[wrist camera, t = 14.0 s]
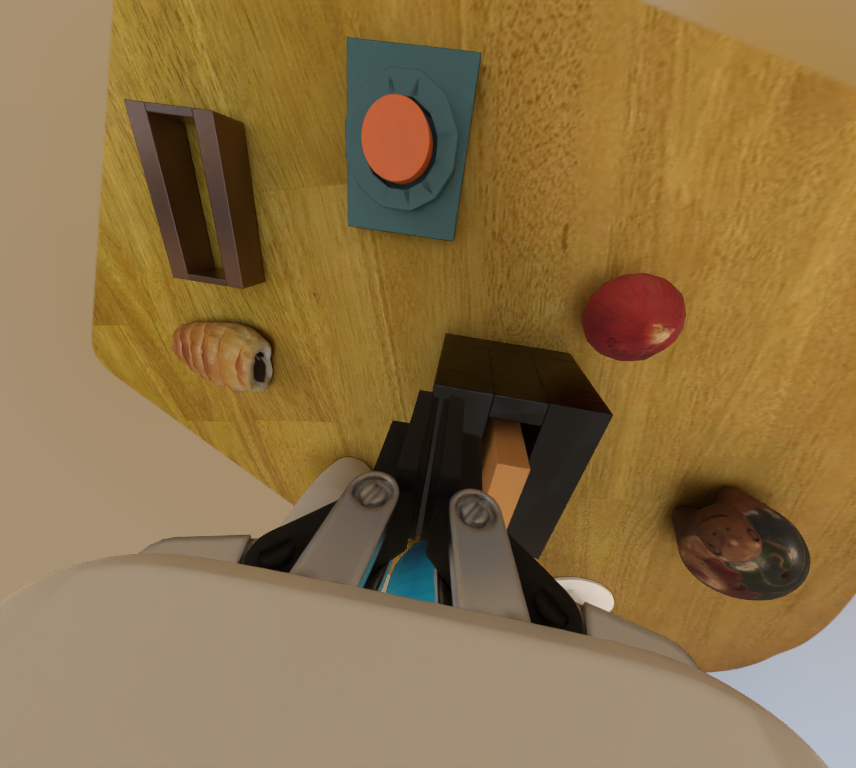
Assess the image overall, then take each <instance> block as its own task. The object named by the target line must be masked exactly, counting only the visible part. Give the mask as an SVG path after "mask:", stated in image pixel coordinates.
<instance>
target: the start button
mask: <svg viewBox="0 0 856 768" xmlns="http://www.w3.org/2000/svg"><path fill="white" fill-rule="evenodd" d="M361 138H362V148H363V152H364V155H365V158H366V160H367V162H368V164H369V165H370V167H371V168H372V169H373V171H374V172H375V173H376V174H378V175H379V176H380V177H382V178H384V179H386V180H388V181H390V182H393V183H396V184H408V183H411V182H414V181H415V180H417V179H418V178H419V177H421V176H422V174H423V173H424V172H425V171H426V169H427V167H428V165H429V163H430V161H431V157H432V152H433V138H432V132H431V129H430V126H429V124H428V122H427V120H426V118H425V116H424V114H423V112H422V110H421V109H420V107H419V106H418V105H417V104H416V103H415V102H414V101H413V100H411V99H410V98H408V97H406V96H404V95H400V94H389V95H386V96H383V97H381V98H379V99H378V100H377V101H375V103H374V104H373V105H372V106H371V107H370V108H369V110H368V112H367V114H366V116H365V118H364V122H363V126H362V134H361Z"/></svg>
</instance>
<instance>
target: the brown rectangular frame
mask: <svg viewBox="0 0 856 768" xmlns="http://www.w3.org/2000/svg"><path fill="white" fill-rule="evenodd" d="M124 102H125V106H126V109H127V113H128V116H129V120H130V123H131V127H132V131H133V134H134V138H135V141H136V145H137V149H138V152H139V156H140V159H141V163H142V167H143V170H144V174H145V177H146V181H147V184H148V188H149V192H150V195H151V199H152V202H153V206H154V210H155V213H156V217H157V220H158V224H159V228H160V231H161V235H162V238H163V242H164V245H165V249H166V253H167V256H168V260H169V263H170V267H171V271H172V274H173V277H174V278H180V279H186V280H192V281H198V282H204V283H211V284H217V285H223V286H230V287H236V288H242V289H244V288H247V287H250V286H253V285H256V284H259V283H262V282H265V278H264V271H263V263H262V256H261V249H260V241H259V234H258V227H257V220H256V212H255V205H254V198H253V190H252V183H251V176H250V168H249V161H248V154H247V146H246V139H245V132H244V125H243V123H242V122H239V121H237V120H235V119H232V118H230V117H227V116H225V115H222V114H220V113H217V112H215V111H212V110H205V109H197V108H190V107H182V106H174V105H166V104H159V103H151V102H143V101H135V100H127V99H124ZM184 124H190V125H195V126H196V131H197V136H198V141H199V146H200V151H201V156H202V161H203V166H204V171H205V176H206V181H207V186H208V191H209V197H210V202H211V207H212V212H213V217H214V222H215V227H216V232H217V237H218V242H219V247H220V252H221V257H222V262H223V267H224V270H221V269H215V268H214V263H213V258H212V254H211V249H210V244H209V239H208V235H207V230H206V225H205V220H204V216H203V211H202V206H201V202H200V197H199V192H198V187H197V183H196V178H195V173H194V168H193V164H192V159H191V154H190V150H189V145H188V140H187V135H186V131H185V126H184Z"/></svg>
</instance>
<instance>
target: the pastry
mask: <svg viewBox="0 0 856 768" xmlns="http://www.w3.org/2000/svg"><path fill="white" fill-rule="evenodd" d="M173 343H174V344H173V346H172V350H173V351H174V353H175V354H176V355H177V357H178V358H179V359H180V360H181V361H182V362H183V363H185V364H186V365H188V366H189V367H190V369H191V370H192V371H194V372H198V373H200V375H201V377H202V378H203V379H205V380H211V381H212V382H213V383H214V384H215V385H216V386H220V387H221V386H228V387H229V388H230V389H231V390H232V391H233V392H244V391H260V392H262V391H265V390H266V389H267V388H268V387H269V382H270V380H271V378H272V372H273V369H272V364H271V361H270V357H271V346H270V345H269V343H268V342H267V341H266V340H265V339H264V338H263V337H262V336H261V335H260V334H259V333H258V332H257V331H255V330H254V329H252V328H251V327H248V326H244V325H241V324H239V323H230V322H192V323H188V324H183V325H181V326H180V327H178V328H177V329H176V330H175V332H174V333H173Z"/></svg>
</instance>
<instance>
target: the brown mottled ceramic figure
mask: <svg viewBox="0 0 856 768" xmlns="http://www.w3.org/2000/svg"><path fill="white" fill-rule="evenodd" d="M672 521H673V525H674V530H675V534H676V539H677V545H678V550H679V554H680V556H681V559H682V561H683V563H684V564H685V566H686V567H687V569H688V570H689V571H690V572H691V573H692V574H693V575H694V576H695V577H696V578H697V579H698V580H699V581H701V582H702V583H703V584H705V585H706V586H708V587H710V588H712V589H713V590H716V591H718V592H720V593H722V594H725V595H727V596H731V597H734V598H739V599H745V600H772V599H777V598H780V597H783V596H785V595H787V594H789V593H791V592H792V591H794V590H796V589H797V588H798V587H799V586H800V585H801V584H802V583H803V582H804V581H805V579H806V577H807V575H808V573H809V568H810V554H809V551H808V548H807V545H806V543H805V541H804V539H803V537H802V535H801V534H800V532H799V531H798V530H797V528H796V527H795V526H794V525H793V524H792V523H791V522H790V521H789V520H788V519H786V518H785V517H784V516H782V515H781V514H779V513H778V512H776V511H775V510H773V509H771V508H770V507H768V506H767V505H765V504H764V503H762V502H760V501H758V500H756V499H754V498H753V497H751V496H749V495H748V494H746V493H744V492H742V491H740V490H739V489H736V488H734V487H723V488H722V489H721V490H720V492H719V494H718V496H717V499H716V502H715V503H714V504H713V505H709V506H706V507H704V508H702V509H694V508H690V507H687V506H676V507H675V508H674V509H673V510H672Z"/></svg>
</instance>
